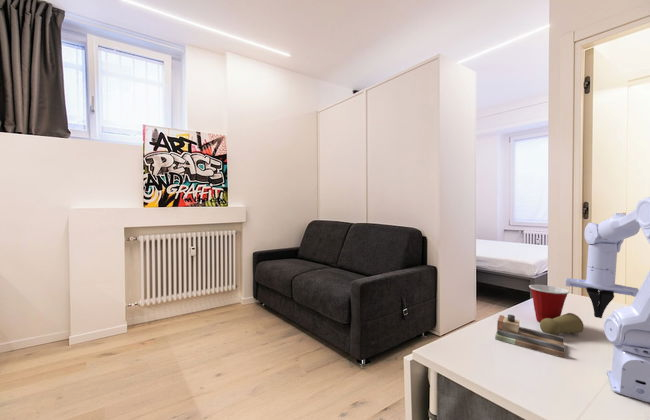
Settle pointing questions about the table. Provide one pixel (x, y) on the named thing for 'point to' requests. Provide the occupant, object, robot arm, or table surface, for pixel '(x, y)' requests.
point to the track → (532, 339)
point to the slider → (510, 324)
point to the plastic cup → (548, 301)
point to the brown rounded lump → (562, 324)
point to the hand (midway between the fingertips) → (597, 316)
